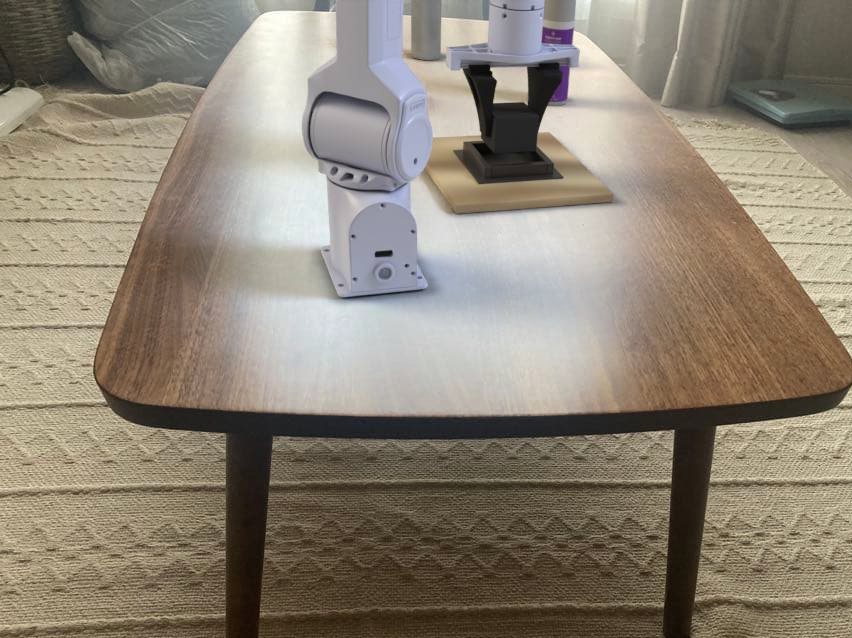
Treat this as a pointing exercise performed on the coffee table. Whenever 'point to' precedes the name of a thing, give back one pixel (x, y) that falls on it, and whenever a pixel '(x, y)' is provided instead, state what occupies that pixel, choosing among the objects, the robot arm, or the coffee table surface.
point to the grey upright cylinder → (426, 29)
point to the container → (559, 38)
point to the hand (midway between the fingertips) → (509, 132)
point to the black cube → (512, 128)
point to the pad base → (511, 176)
